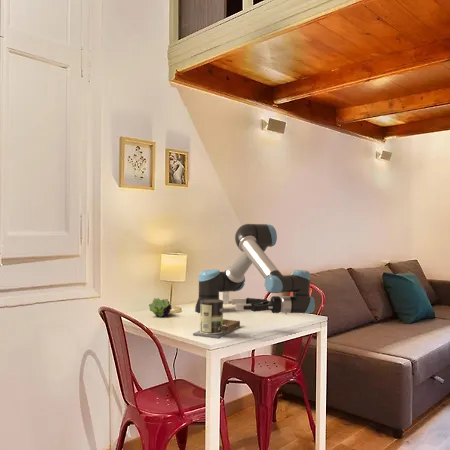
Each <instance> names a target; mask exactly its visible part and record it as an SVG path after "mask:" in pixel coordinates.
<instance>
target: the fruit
mask: <svg viewBox="0 0 450 450" xmlns="http://www.w3.org/2000/svg"><path fill="white" fill-rule="evenodd" d="M148 307H149V311H150V312H151V313H153V314H154V315H155V316H156V317H157V316H158V317H159V318H161V317H162V318H163V317H165V316H167V315H169V314H170V312H171V310H172V305H171V304H170V301H169V299H168V298H165V299H164V298H163V299H160V298H159V297H158V298H155V297H154V298H153V299H152V302H151V303H150V304H148Z"/></svg>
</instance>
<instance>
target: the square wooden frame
mask: <svg viewBox="0 0 450 450" xmlns="http://www.w3.org/2000/svg"><path fill="white" fill-rule="evenodd" d="M240 325H241V321H240V320H233V319H225V318H224V319H223V330H225V331H229V332H231V331H233V330H235V329H237V328H239V327H240Z"/></svg>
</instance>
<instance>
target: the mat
mask: <svg viewBox="0 0 450 450" xmlns="http://www.w3.org/2000/svg"><path fill="white" fill-rule="evenodd" d="M222 331H223V332H222V333H221V334H216V335H208V334H202V333H200V330H197V331H195V332H193V333H192V336H196V337H204V338H210V339H220V338H221V336H222V337H223V335H224V336H225V334H226V335H227V334H229V333H230V331H225V330H222Z"/></svg>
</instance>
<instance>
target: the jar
mask: <svg viewBox="0 0 450 450" xmlns="http://www.w3.org/2000/svg"><path fill="white" fill-rule="evenodd" d="M219 300H223V305H226V304H227V303H228V304H229V302H230V292H219Z"/></svg>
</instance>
